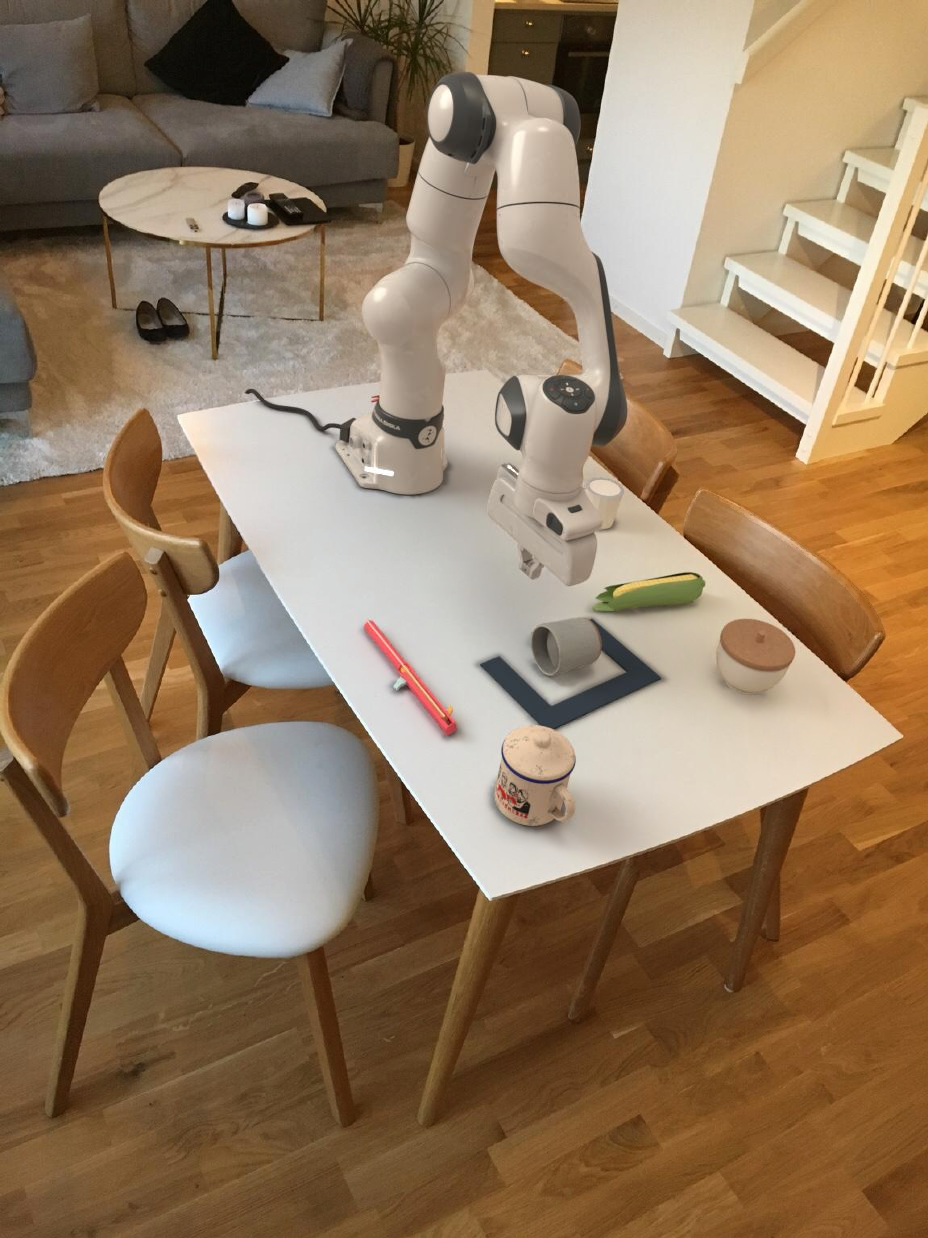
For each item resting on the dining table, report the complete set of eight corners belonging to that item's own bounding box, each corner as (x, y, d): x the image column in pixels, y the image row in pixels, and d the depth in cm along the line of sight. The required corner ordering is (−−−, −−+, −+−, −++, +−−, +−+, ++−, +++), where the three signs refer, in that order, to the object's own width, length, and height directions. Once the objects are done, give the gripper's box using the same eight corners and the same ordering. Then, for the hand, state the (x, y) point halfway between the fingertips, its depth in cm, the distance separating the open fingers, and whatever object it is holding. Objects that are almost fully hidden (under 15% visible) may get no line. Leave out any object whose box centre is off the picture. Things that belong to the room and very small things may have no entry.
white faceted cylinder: (574, 524, 177) (581, 491, 173) (583, 506, 182) (590, 473, 178) (611, 535, 176) (620, 501, 171) (619, 516, 181) (627, 483, 177)
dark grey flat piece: (480, 665, 145) (480, 663, 145) (591, 619, 156) (592, 618, 156) (547, 732, 136) (547, 730, 136) (661, 679, 147) (661, 677, 147)
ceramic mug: (600, 672, 147) (610, 631, 142) (554, 687, 143) (563, 646, 138) (559, 630, 154) (568, 590, 149) (515, 643, 150) (522, 602, 145)
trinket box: (709, 698, 145) (727, 649, 139) (705, 651, 154) (722, 603, 148) (782, 711, 145) (804, 663, 139) (775, 663, 153) (794, 616, 147)
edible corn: (707, 605, 163) (714, 583, 160) (597, 621, 156) (603, 598, 154) (691, 586, 167) (698, 564, 164) (584, 601, 160) (589, 578, 157)
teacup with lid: (478, 789, 127) (490, 724, 119) (534, 763, 131) (549, 700, 124) (535, 857, 119) (551, 792, 112) (592, 827, 124) (612, 763, 117)
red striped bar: (435, 744, 133) (465, 726, 134) (433, 735, 131) (462, 717, 133) (353, 637, 148) (380, 622, 149) (349, 628, 146) (377, 612, 147)
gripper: (484, 461, 142) (471, 540, 151) (575, 538, 130) (555, 619, 139) (519, 452, 145) (504, 530, 154) (611, 526, 133) (589, 606, 142)
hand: (529, 573), depth 146 cm, fingers closed
